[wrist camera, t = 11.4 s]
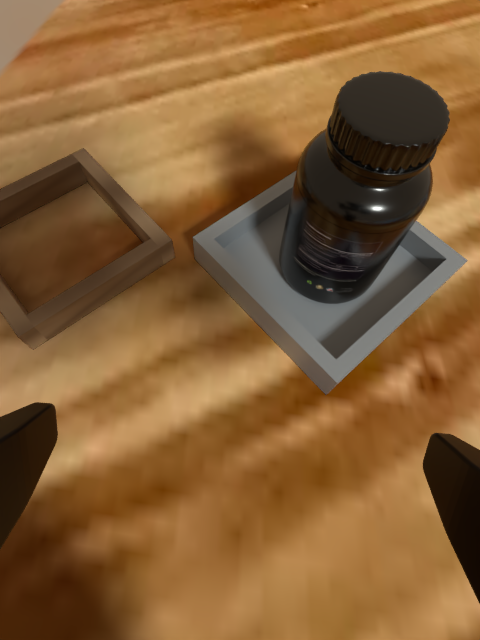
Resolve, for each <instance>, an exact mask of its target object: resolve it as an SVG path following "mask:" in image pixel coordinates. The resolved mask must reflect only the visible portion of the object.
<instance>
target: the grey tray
mask: <svg viewBox="0 0 480 640" xmlns="http://www.w3.org/2000/svg"><path fill="white" fill-rule="evenodd" d="M296 171H297V170H296ZM296 171H295V172H293V173H292V174H290V175H289V176H287V177H285V178H284V179H282V180H281V181H279V182H278V183H276V184H275V185H273V186H271V187H270V188H268V189H267V190H265V191H264V192H262V193H261V194H259V195H257V196H256V197H254V198H253V199H251V200H250V201H248V202H246V203H245V204H243V205H242V206H240V207H239V208H237V209H236V210H234V211H232V212H231V213H229V214H228V215H226V216H225V217H223V218H222V219H220V220H218V221H217V222H215V223H214V224H212V225H211V226H209V227H208V228H206V229H204V230H203V231H201V232H200V233H198V234H197V235H195V236H194V237H193V246H194V256H195V260H196V261H197V262H198V263H199V264H200V265H201V266H202V267H203V268H204V269H205V270H206V271H207V272H208V273H209V274H210V275H211V276H212V277H213V278H214V279H215V280H216V281H217V283H218V284H219V285H220V286H221V287H222V288H223V289H224V290H225V291H226V292H227V293H228V294H229V295H230V296H231V297H232V298H233V299H234V300H235V301H236V302H237V303H238V304H239V305H240V306H241V307H242V308H243V309H244V310H245V311H246V313H247V314H248V315H249V316H250V317H251V318H252V319H253V320H254V321H255V322H256V323H257V324H258V325H259V326H260V327H261V328H262V329H263V330H264V331H265V332H266V333H267V334H268V335H269V336H270V337H271V338H272V339H273V340H274V342H275V343H276V344H277V345H278V346H279V347H280V348H281V349H282V350H283V351H284V352H285V353H286V354H287V355H288V356H289V357H290V358H291V359H292V360H293V361H294V362H295V363H296V364H297V365H298V366H299V367H300V368H301V369H302V370H303V372H304V373H305V374H306V375H307V376H308V377H309V378H310V379H311V380H312V381H313V382H314V383H315V384H316V385H317V386H318V387H319V388H320V389H321V390H322V391H323V392H324V393H325V394H327V393H329V392H330V391H331V390H332V389H333V388H334V387H335V386H336V385H337V384H338V383H339V382H340V381H341V380H342V379H343V378H344V377H346V376H347V375H348V374H349V373H350V372H351V371H352V370H353V369H354V368H355V367H356V366H357V365H358V364H359V363H360V362H361V361H362V360H364V359H365V358H366V357H367V356H368V355H369V354H370V353H371V352H372V351H373V350H374V349H375V348H376V347H377V346H378V345H379V344H380V343H382V342H383V341H384V340H385V339H386V338H387V337H388V336H389V335H390V334H391V333H392V332H393V331H394V330H395V329H396V328H397V327H398V326H400V325H401V324H402V323H403V322H404V321H405V320H406V319H407V318H408V317H409V316H410V315H411V314H412V313H413V312H414V311H415V310H416V309H418V308H419V307H420V306H421V305H422V304H423V303H424V302H425V301H426V300H427V299H428V298H429V297H430V296H431V295H432V294H433V293H434V292H436V291H437V290H438V289H439V288H440V287H441V286H442V285H443V284H444V283H445V282H446V281H447V280H448V279H449V278H450V277H451V276H452V275H453V274H454V273H455V272H456V271H457V270H458V269H460V268H461V267H462V266H463V265H464V264H465V263H466V262H467V261H468V260H466V259H465V258H464V257H462V256H461V255H460V254H459V253H457V252H456V251H455V250H453V249H452V248H451V247H450V246H448V245H447V244H446V243H444V242H443V241H442V240H441V239H439V238H438V237H437V236H435V235H434V234H433V233H431V232H430V231H429V230H428V229H426V228H425V227H424V226H422V225H421V224H420V223H419V222H417V221H416V222H415V223H414V224H413V226H412V227H411V229H410V230H409V232H408V233H407V235H406V236H405V238H404V239H403V241H402V242H401V244H400V245H399V246H398V248H397V249H396V251H395V252H394V254H393V255H392V257H391V258H390V260H389V261H388V263H387V264H386V265H385V267H384V268H383V270H382V271H381V273H380V274H379V276H378V277H377V279H376V280H375V281H374V283H373V284H372V285H371V287H370V288H369V289H368V290H367V291H366V292H365V293H364V294H363V295H361V296H360V297H358V298H356V299H354V300H352V301H349V302H346V303H340V304H325V303H320V302H316V301H313V300H310V299H308V298H306V297H304V296H303V295H301V294H300V293H298V292H297V291H296V290H295V289H293V288H292V287H291V285H290V284H289V283H288V282H287V280H286V279H285V277H284V275H283V273H282V270H281V267H280V262H279V252H280V246H281V241H282V236H283V231H284V227H285V222H286V217H287V213H288V208H289V203H290V199H291V194H292V189H293V185H294V180H295V175H296Z"/></svg>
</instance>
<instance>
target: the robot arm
mask: <svg viewBox="0 0 480 640" xmlns="http://www.w3.org/2000/svg"><path fill="white" fill-rule="evenodd" d="M57 436H58V431H57V420H56V410H55V407H54V405H53V404H50V403H38V402H37V403H33V404H30V405H28V406H26V407H23V408H21V409H18V410H16V411H14V412H11V413H9V414H7V415H4V416H2V417H0V549H1V547H2V546H3V544H4V542H5V541H6V539H7V537H8V536H9V534H10V532H11V531H12V529H13V527H14V526H15V524H16V522H17V521H18V519H19V517H20V516H21V514H22V512H23V510H24V509H25V507H26V505H27V503H28V502H29V500H30V498H31V496H32V494H33V491H34V489H35V487H36V485H37V483H38V481H39V479H40V476H41V474H42V472H43V470H44V468H45V466H46V464H47V461H48V459H49V457H50V455H51V453H52V451H53V449H54V446H55V444H56V441H57ZM423 470H424V473H425V476H426V479H427V482H428V485H429V487H430V490H431V493H432V496H433V498H434V501H435V504H436V507H437V509H438V512H439V515H440V518H441V521H442V523H443V526H444V528H445V531H446V533H447V536H448V538H449V540H450V542H451V544H452V547H453V549H454V551H455V553H456V555H457V557H458V559H459V561H460V563H461V565H462V568H463V570H464V572H465V574H466V576H467V578H468V580H469V582H470V584H471V587H472V589H473V591H474V593H475V595H476V597H477V599H478V601H479V603H480V450H479V449H477V448H475V447H473V446H471V445H470V444H468V443H466V442H464V441H462V440H461V439H459V438H457V437H455V436H454V435H451V434H443V433H434V434H432V435H431V437H430V439H429V443H428V446H427V450H426V453H425V456H424V460H423Z"/></svg>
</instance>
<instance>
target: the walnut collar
mask: <svg viewBox="0 0 480 640" xmlns="http://www.w3.org/2000/svg"><path fill="white" fill-rule="evenodd" d="M87 182H88V183H89V184H90V185H91V187H92V188H93V189H94V190H95V191H96V192H97V193H98V194H99V195H100V196H101V197H102V198H103V200H104V201H105V202H106V203H107V204H108V205H109V206H110V207H111V208H112V209H113V210H114V211H115V213H116V214H117V215H118V216H119V217H120V218H121V219H122V220H123V221H124V222H125V223H126V224H127V226H128V227H129V228H130V229H131V230H132V231H133V232H134V233H135V234H136V235H137V236H138V237H139V239H140V240H141V241H142V242H143V243H142V244H141V245H139V246H137V247H136V248H134V249H133V250H131V251H129V252H128V253H126V254H124V255H123V256H121V257H120V258H118V259H116V260H115V261H113V262H111V263H110V264H108V265H107V266H105V267H103V268H102V269H100V270H98V271H97V272H95V273H94V274H92V275H90V276H89V277H87V278H85V279H84V280H82V281H81V282H79V283H77V284H76V285H74V286H73V287H71V288H69V289H68V290H66V291H64V292H63V293H61V294H60V295H58V296H56V297H55V298H53V299H51V300H50V301H48V302H47V303H45V304H43V305H42V306H40V307H38V308H37V309H35V310H34V311H32V312H30V313H28V312H27V311H26V309H25V308H24V306H23V305H22V304H21V302H20V301H19V300H18V298H17V297H16V295H15V294H14V293H13V291H12V290H11V288H10V287H9V286H8V284H7V283H6V281H5V280H4V279H3V277H2V276H1V275H0V312H1V313H2V315H3V316H4V318H5V319H6V320H7V322H8V323H9V325H10V326H11V328H12V329H13V331H14V332H15V333H16V335H17V336H18V338H20V339H21V340H22V341H23V342H24V343H26V344H27V345H28V346H29V347H31V348H32V349H33V350H34V349H35V348H37V347H38V346H40V345H41V344H43V343H44V342H46V341H47V340H49V339H50V338H52V337H54V336H55V335H57V334H58V333H60V332H61V331H63V330H64V329H66V328H67V327H69V326H70V325H72V324H74V323H75V322H77V321H78V320H80V319H81V318H83V317H84V316H86V315H87V314H89V313H90V312H92V311H93V310H95V309H97V308H98V307H100V306H101V305H103V304H104V303H106V302H107V301H109V300H110V299H112V298H113V297H115V296H116V295H118V294H120V293H121V292H123V291H124V290H126V289H127V288H129V287H130V286H132V285H133V284H135V283H136V282H138V281H139V280H141V279H143V278H144V277H146V276H147V275H149V274H150V273H152V272H153V271H155V270H156V269H158V268H159V267H161V266H162V265H164V264H166V263H167V262H169V261H170V260H172V259H173V258H175V254H174V248H173V243H172V239H171V238H170V237H169V236H168V235H167V234H166V233H165V232H164V231H163V230H162V229H161V228H160V227H159V226H158V225H157V224H156V223H155V222H154V221H153V220H152V219H151V218H150V217H149V216H148V214H147V213H146V212H145V211H144V210H143V209H142V208H141V207H140V206H139V205H138V204H137V203H136V202H135V201H134V200H133V199H132V198H131V197H130V196H129V195H128V194H127V193H126V192H125V191H124V190H123V188H122V187H121V186H120V185H119V184H118V183H117V182H116V181H115V180H114V179H113V178H112V177H111V176H110V175H109V174H108V173H107V172H106V171H105V170H104V169H103V168H102V167H101V166H100V165H99V163H98V162H97V161H96V160H95V159H94V158H93V157H92V156H91V155H90V154H89V153H88V152H87V151H86V150H85V149H84V148H83V149H81V150H79V151H77V152H75V153H73V154H71V155H69V156H67V157H65V158H62V159H60V160H58V161H56V162H54V163H52V164H50V165H48V166H46V167H44V168H42V169H40V170H38V171H36V172H34V173H32V174H30V175H28V176H26V177H24V178H22V179H20V180H18V181H16V182H14V183H12V184H10V185H7V186H5V187H3V188H1V189H0V228H1V227H3V226H5V225H7V224H8V223H10V222H12V221H14V220H16V219H18V218H20V217H22V216H24V215H26V214H27V213H29V212H31V211H33V210H35V209H37V208H39V207H41V206H43V205H45V204H47V203H48V202H50V201H52V200H54V199H56V198H58V197H60V196H62V195H64V194H66V193H67V192H69V191H71V190H73V189H75V188H77V187H79V186H81V185H83V184H85V183H87Z"/></svg>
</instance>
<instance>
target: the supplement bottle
mask: <svg viewBox="0 0 480 640" xmlns="http://www.w3.org/2000/svg"><path fill="white" fill-rule="evenodd" d="M449 121H450V119H449V111H448V109H447V105H446V103H445V102H444V101H443V98H442V97H441V96H439V95H438V93H437V91H435V90H433V89H432V88H431V87H430V86H429V85H427V84H424V83H423V82H422V81H421V80H417V79H414V78H413V77H411V76H406V75H403V74H401V73H393V72H381V71H379V72H370V73H367V74H361V75H360V76H358V77H353V78H352V80H350V81H347V82H346V84H345V85H344V86H343V87H341V89H340V91H339V94H338V95H337V98H336V101H335V104H334V108H333V112H332V115H331V116H330V119H329V121H328V125H327V128H326V129H325V130H323V131H322V132H320V133H319V134H317V135H316V136H315V137H314V138H313V139H312V140H311V141H310V142H309V143H308V145H307V146H306V147H305V149H304V151H303V152H302V154H301V157H300V160H299V163H298V167H297V171H296V175H295V180H294V185H293V189H292V194H291V199H290V203H289V208H288V213H287V217H286V222H285V227H284V231H283V236H282V241H281V246H280V252H279V262H280V267H281V270H282V273H283V275H284V277H285V279H286V280H287V282H288V283H289V284H290V285H291V287H292V288H293V289H295V290H296V291H297V292H298V293H300V294H301V295H303V296H304V297H306V298H308V299H310V300H313V301H316V302H320V303H325V304H340V303H346V302H349V301H352V300H354V299H356V298H358V297H360V296H361V295H363V294H364V293H365V292H366V291H367V290H368V289H369V288H370V287H371V285H372V284H373V283H374V281H375V280H376V279H377V277H378V276H379V274H380V273H381V271H382V270H383V268H384V267H385V265H386V264H387V263H388V261H389V260H390V258H391V257H392V255H393V254H394V252H395V251H396V249H397V248H398V246H399V245H400V244H401V242H402V241H403V239H404V238H405V236H406V235H407V233H408V232H409V230H410V229H411V227H412V226H413V224H414V223H415V222H416V220H417V219H418V217H419V216H420V214H421V213H422V211H423V210H424V208H425V206H426V204H427V202H428V201H429V198H430V195H431V191H432V183H433V179H432V170H431V166H430V162H431V161H432V159H433V157H434V156H435V153H436V150H437V146H438V145H439V143H440V141H441V140H442V138H443V136H444V135H445V133H446V131H447V129H448V124H449Z"/></svg>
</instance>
